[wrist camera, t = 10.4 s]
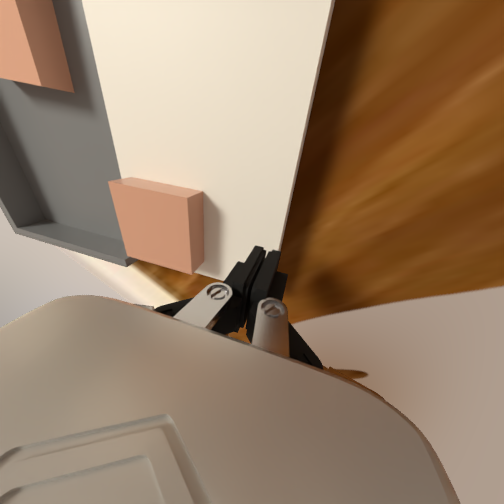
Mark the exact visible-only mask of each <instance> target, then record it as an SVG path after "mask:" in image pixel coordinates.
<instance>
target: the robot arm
mask: <svg viewBox="0 0 504 504" xmlns="http://www.w3.org/2000/svg"><path fill="white" fill-rule="evenodd" d="M280 255H281V251H277V250H272V252H271V251H268V254H267V256H266V250H264V247H260V246H256V245H255V246H254V248H253V250H252V251H251V253H250V254H249V256H248V258H247V259H246V261H245V262H244V263H243V262H240V261H238V262H237V263H236V265H235V266H234V267H233V269H232V270H231V272H230V273H229V275H228V276H227V278H226V279H225V280H224V282H223V283H212V284H210V285H208V286H206V287H205V288H204V289H203V290H202V291H201V292H200V293H199V294H198V295H197V296H196V297H194V298H190V299H186V300H182V301H178V302H174V303H171V304H167V305H163V306H160V307H157V308H156V309H154V306H146V305H137V304H131V303H128V302H124V301H121V300H117V299H113V298H108V297H103V296H94V295H77V296H68V297H63V298H59V299H56V300H53V301H51V302H49V303H47V304H44V305H42V306H40V307H38V308H36V309H34V310H32V311H30V312H29V313H27V314H25V315H23V316H21V317H19V318H17V319H16V320H14V321H12V322H10V323H8V324H6V325H5V326H3V327H1V328H0V504H460V501H459V499H458V497H457V495H456V492H455V490H454V488H453V486H452V484H451V482H450V480H449V478H448V476H447V473H446V471H445V469H444V467H443V465H442V463H441V462H440V460H439V458H438V456H437V454H436V452H435V451H434V449H433V448H432V446H431V444H430V443H429V441H428V440H427V439H426V437H425V436H424V435H423V433H422V432H421V431H420V430H419V429H418V428H417V427H416V425H415V424H414V423H413V422H411V421H410V420H409V419H408V418H407V417H406V416H405V415H404V414H402V413H401V412H400V411H399V410H398V409H396V408H395V407H394V406H392V405H391V404H389V403H388V402H386V401H385V400H384V398H383V397H381V396H380V395H379V394H377V393H376V392H374V391H372V390H370V389H368V388H367V387H365V386H363V385H362V384H360V383H358V382H356V381H355V380H353V379H351V378H349V377H347V376H346V375H344V374H342V373H340V372H339V371H337V370H335V369H333V368H332V367H329V369H328V368H326V367H325V366H323V365H322V363H321V361H320V360H319V358H318V357H317V356H316V355H315V353H314V352H313V351H312V350H311V348H310V347H309V346H308V345H307V343H306V342H305V341H304V340H303V339H302V337H301V336H300V335H299V334H298V332H297V331H296V330H295V329H294V328H293V326H292V325H291V324H290V323H289V321H288V310H287V307H286V305H285V304H284V303H283V302H282V299H283V294H284V290H285V285H286V281H287V277H288V274H285V273H281V272H277V268H278V264H279V259H280ZM265 256H266V258H265ZM246 320H247V323H246V329H247V333H246V335H247V337H248V339H249V341H250V343H251V344H249V343H246V342H244V341H241V340H238V339H235V338H232V337H229V336H228V335H229V333H231V332H237V333H238V330H239V328H240V327H241V328H243V327H244V325H245V322H246Z"/></svg>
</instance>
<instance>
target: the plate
mask: <svg viewBox="0 0 504 504" xmlns="http://www.w3.org/2000/svg"><path fill="white" fill-rule="evenodd" d="M334 3H335V0H82V4H83V8H84V13H85V17H86V22H87V26H88V31H89V35H90V40H91V44H92V48H93V53H94V57H95V62H96V66H97V71H98V75H99V80H100V84H101V89H102V93H103V98H104V102H105V107H106V111H107V116H108V120H109V125H110V129H111V134H112V138H113V143H114V147H115V152H116V156H117V161H118V165H119V169H120V174H121V178H122V179H123V178H128V177H135V178H140V179H145V180H150V181H155V182H160V183H165V184H170V185H175V186H180V187H185V188H190V189H195V190H200V191H203V214H204V262H203V263H202V264H201V266H200V267H199V268H198V269H197V270H196V271H195V273H198V274H202V275H205V276H209V277H212V278H216V279H219V280H223V281H224V280H225V279H226V278H227V276H228V275H229V273H230V272H231V270H232V269H233V267H234V266H235V265H236V263H237V262H238V261H240V262H243V263H244V262H245V261H246V259H247V258H248V256H249V254H250V253H251V251H252V250H253V248H254V246H255V245H256V246H260V247H264V250H266V256H267V254H268V251H271V252H272V250H277V251H280V250H281V245H282V240H283V236H284V231H285V227H286V222H287V218H288V213H289V209H290V204H291V199H292V195H293V190H294V186H295V181H296V177H297V172H298V168H299V163H300V158H301V154H302V149H303V145H304V140H305V136H306V131H307V126H308V122H309V117H310V113H311V108H312V104H313V99H314V95H315V90H316V85H317V81H318V76H319V72H320V67H321V63H322V58H323V54H324V49H325V44H326V40H327V35H328V31H329V26H330V22H331V17H332V13H333V8H334ZM266 256H265V258H266Z"/></svg>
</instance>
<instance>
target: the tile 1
mask: <svg viewBox="0 0 504 504" xmlns="http://www.w3.org/2000/svg"><path fill="white" fill-rule="evenodd" d="M0 78H4V79H8V80H13V81H18V82H23V83H28V84H33V85H38V86H42V87H47V88H52V89H57V90H62V91H67V92H72V93H75V92H74V88H73V84H72V80H71V76H70V72H69V68H68V64H67V59H66V55H65V51H64V47H63V43H62V39H61V35H60V31H59V27H58V23H57V18H56V14H55V10H54V6H53V2H52V0H0Z"/></svg>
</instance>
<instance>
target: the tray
mask: <svg viewBox="0 0 504 504" xmlns="http://www.w3.org/2000/svg"><path fill="white" fill-rule="evenodd" d="M52 2H53V6H54V10H55V14H56V18H57V23H58V27H59V31H60V35H61V39H62V43H63V47H64V51H65V55H66V59H67V64H68V68H69V72H70V76H71V80H72V84H73V88H74V92H75V93H72V92H67V91H62V90H57V89H52V88H47V87H42V86H38V85H33V84H28V83H23V82H18V81H13V80H8V79H4V78H0V207H1V209H2V211H3V213H4V214H5V216H6V218H7V220H8V221H9V223H10V225H11V227H12V228H13V230H14V232H15V233H16V234H19V235H23V236H26V237H29V238H33V239H36V240H39V241H43V242H46V243H49V244H52V245H56V246H59V247H62V248H65V249H69V250H72V251H75V252H79V253H82V254H85V255H88V256H92V257H95V258H98V259H102V260H105V261H108V262H111V263H115V264H118V265H121V266H125V267H128V266H129V265H131V264H133V263H134V262H136V261H137V260H139V259H136V258H133V257H129V256H127V253H126V249H125V245H124V241H123V238H122V234H121V230H120V226H119V222H118V218H117V215H116V211H115V207H114V203H113V199H112V195H111V191H110V188H109V184H108V181H112V180H117V179H122V178H121V174H120V169H119V165H118V161H117V156H116V152H115V147H114V143H113V138H112V134H111V129H110V125H109V120H108V116H107V111H106V107H105V102H104V98H103V93H102V89H101V84H100V80H99V75H98V71H97V66H96V62H95V57H94V53H93V48H92V44H91V40H90V35H89V31H88V26H87V22H86V17H85V13H84V8H83V4H82V0H52Z"/></svg>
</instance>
